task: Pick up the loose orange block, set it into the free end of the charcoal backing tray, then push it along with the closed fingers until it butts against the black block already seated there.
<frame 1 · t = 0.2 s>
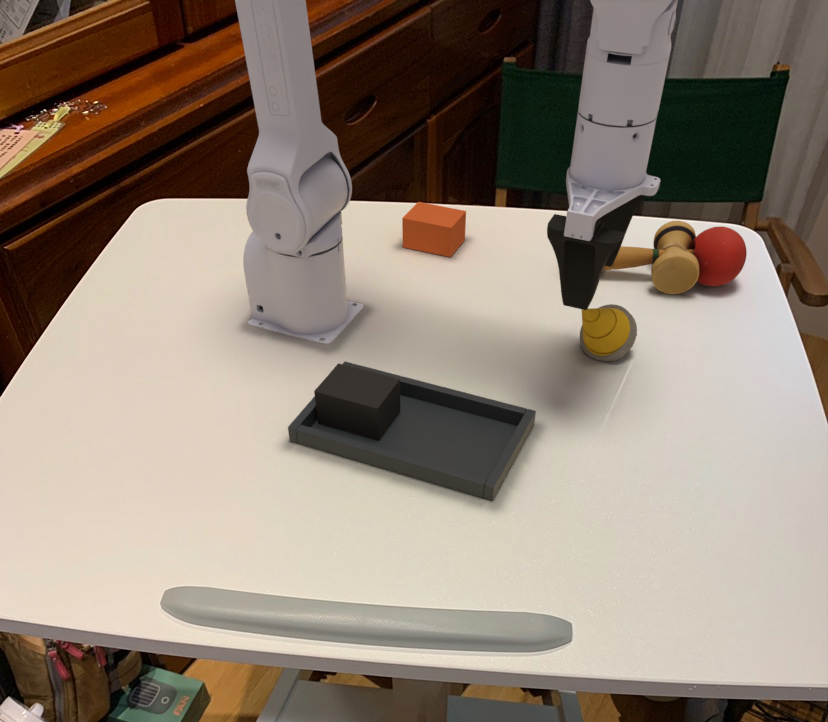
hand: (588, 283, 70), 10 cm above the table, tool pointing down, fingers open, 7 cm apart
black block: (359, 417, 73), resting on backing tray
kendama: (651, 280, 90), on the table
orange block: (434, 243, 95), on the table
backing tray: (413, 437, 72), on the table
spiral yellow cone: (601, 361, 80), on the table
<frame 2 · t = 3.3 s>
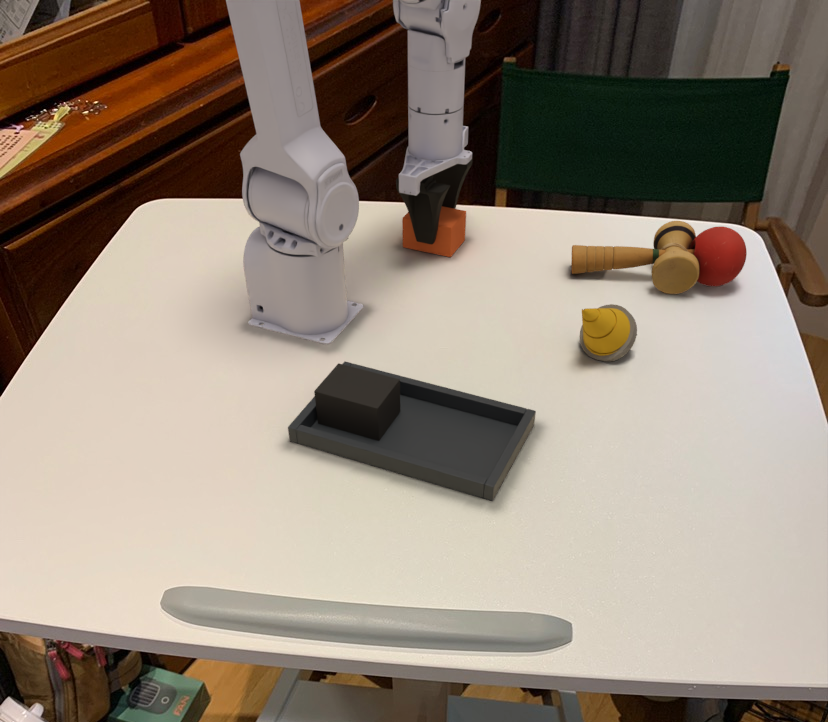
hand: (434, 232, 94), 1 cm above the table, tool pointing down, fingers closed on orange block, 4 cm apart
orange block: (434, 243, 95), on the table, touching gripper
everything else where it was.
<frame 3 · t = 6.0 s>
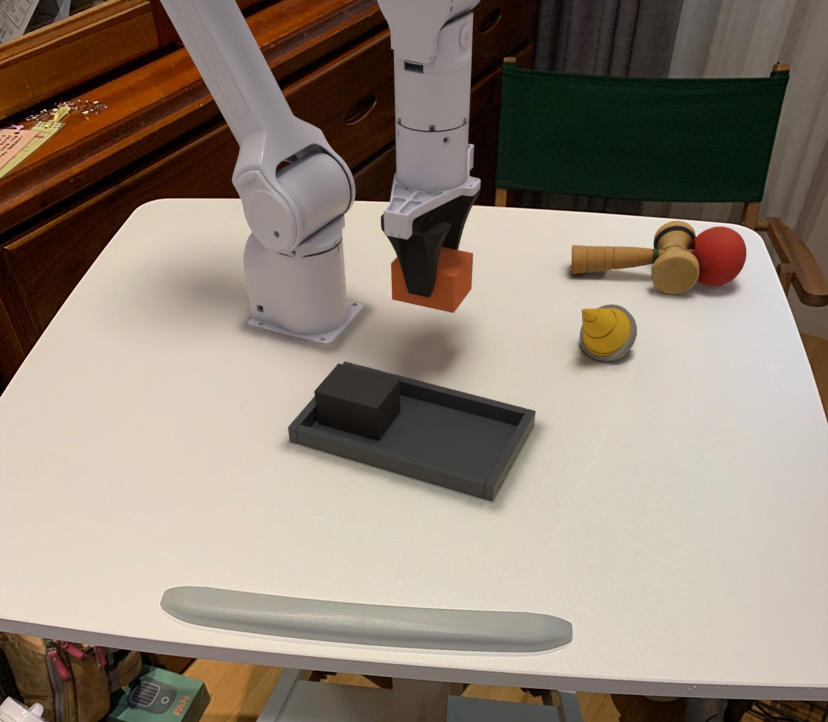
hand: (430, 280, 73), 8 cm above the table, tool pointing down, fingers closed on orange block, 4 cm apart
orange block: (432, 294, 74), point 7 cm above the table, touching gripper
everything else where it was.
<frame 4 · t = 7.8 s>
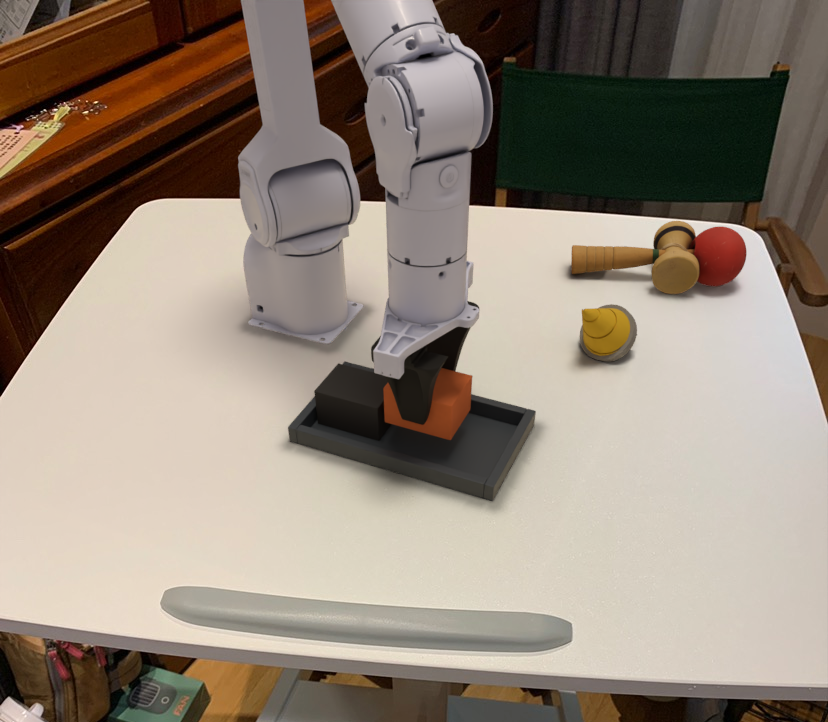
hand: (426, 402, 68), 4 cm above the table, tool pointing down, fingers closed on orange block, 4 cm apart
orange block: (427, 416, 69), point 3 cm above the table, touching gripper
everything else where it was.
when the fingers open (2 cm above the table, at t = 9.0 s): orange block stays where it is, resting on backing tray.
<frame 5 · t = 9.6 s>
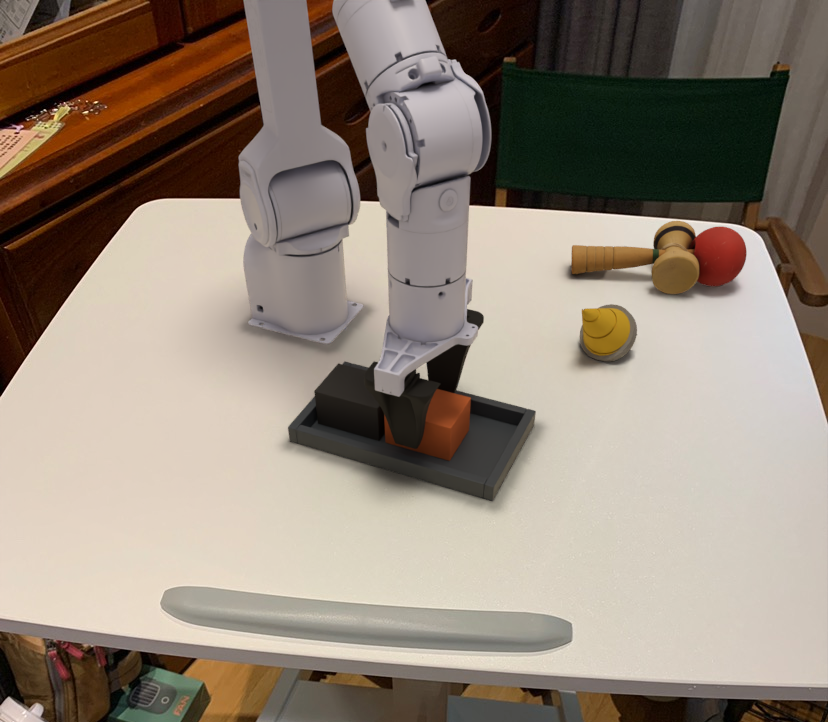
hand: (425, 416, 70), 3 cm above the table, tool pointing down, fingers open, 7 cm apart
orange block: (427, 436, 71), resting on backing tray
everything else where it was.
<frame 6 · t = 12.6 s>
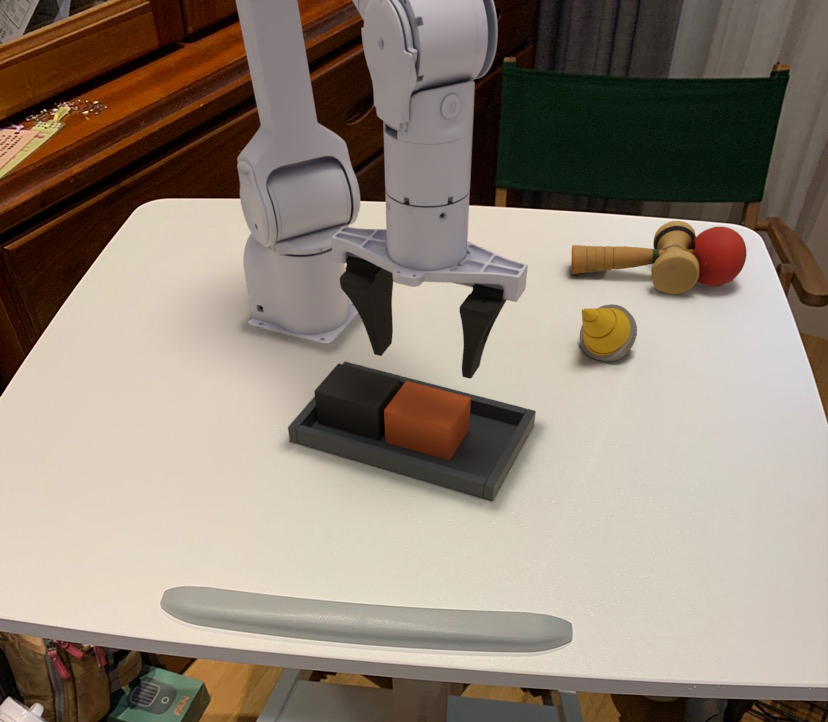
hand: (426, 359, 65), 8 cm above the table, tool pointing down, fingers open, 7 cm apart
nothing on the table moved.
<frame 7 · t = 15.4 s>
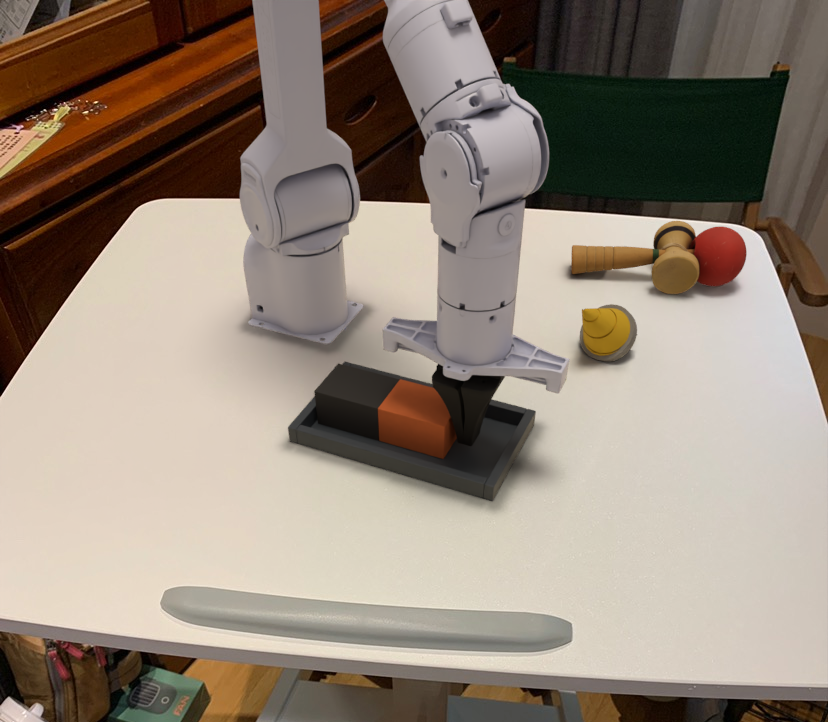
hand: (468, 437, 69), 2 cm above the table, tool pointing down, fingers closed
orange block: (421, 434, 71), point 1 cm above the table, touching black block, gripper
everything else where it was.
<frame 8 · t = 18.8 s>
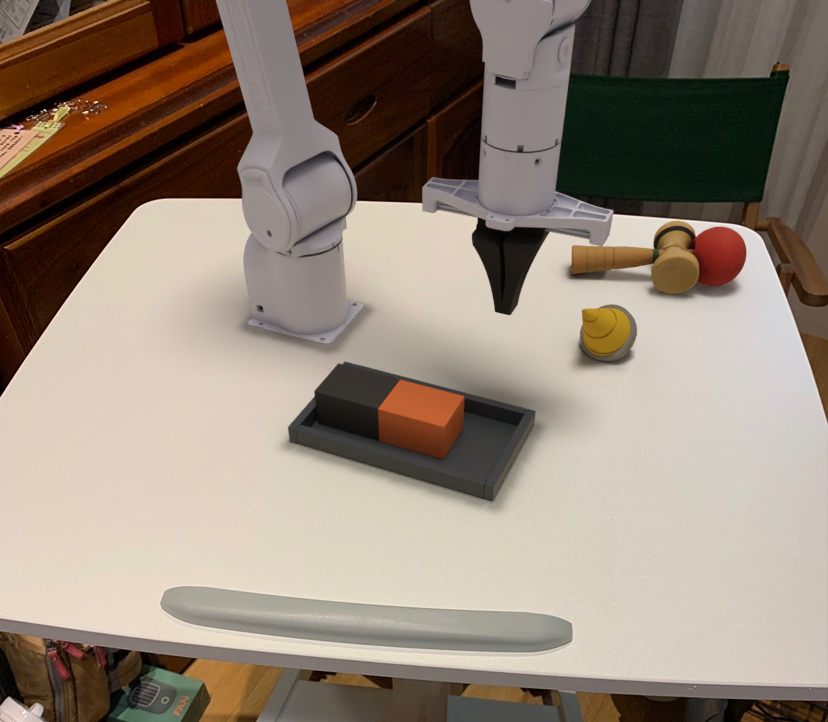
hand: (506, 308, 68), 9 cm above the table, tool pointing down, fingers closed
orange block: (421, 435, 71), resting on backing tray
everything else where it was.
at the end: orange block 0.3 cm from the target spot in the backing tray, point 0.5 cm above the backing tray's base; orange block 6.0 cm from the black block (horizontally); orange block tilted 0° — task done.
